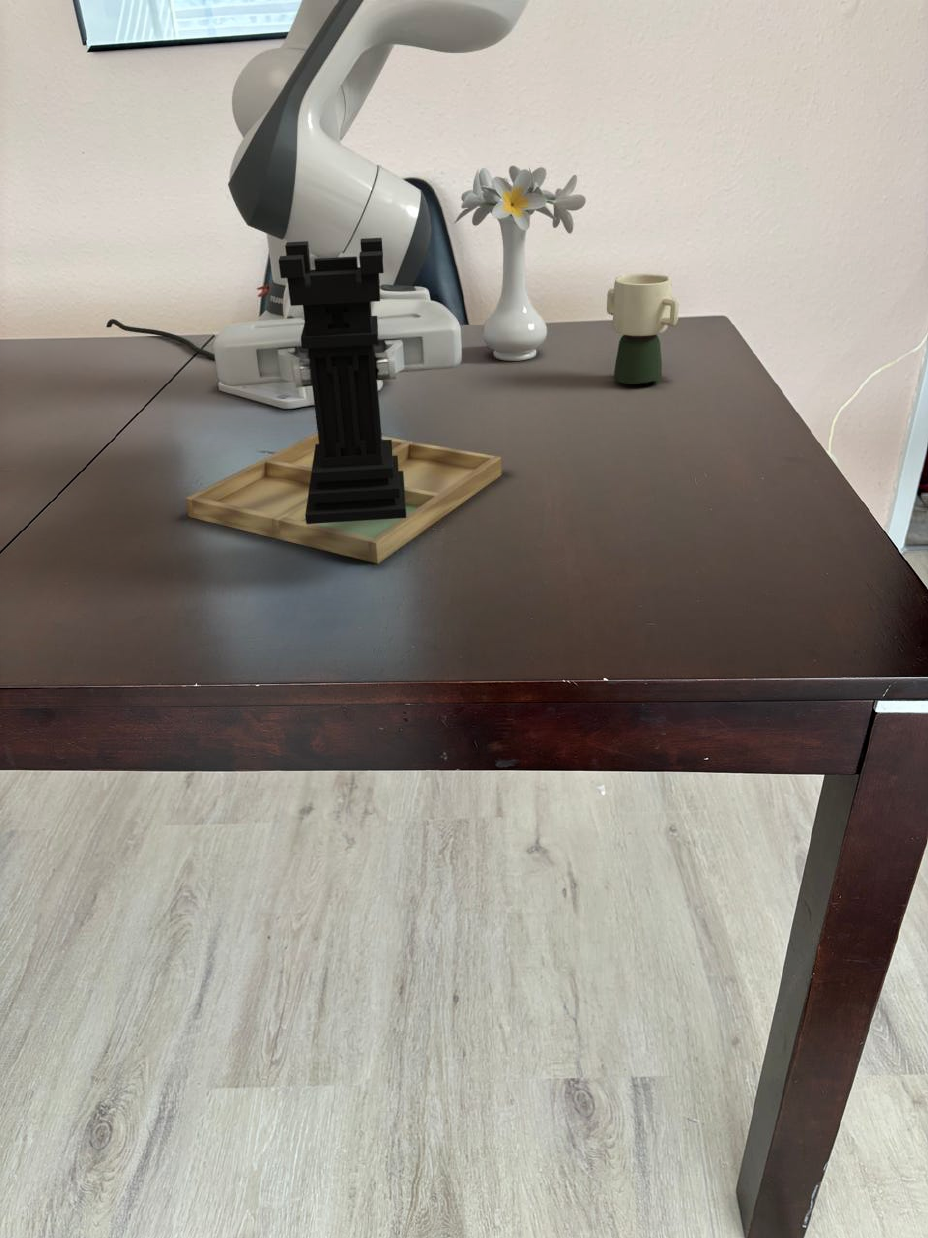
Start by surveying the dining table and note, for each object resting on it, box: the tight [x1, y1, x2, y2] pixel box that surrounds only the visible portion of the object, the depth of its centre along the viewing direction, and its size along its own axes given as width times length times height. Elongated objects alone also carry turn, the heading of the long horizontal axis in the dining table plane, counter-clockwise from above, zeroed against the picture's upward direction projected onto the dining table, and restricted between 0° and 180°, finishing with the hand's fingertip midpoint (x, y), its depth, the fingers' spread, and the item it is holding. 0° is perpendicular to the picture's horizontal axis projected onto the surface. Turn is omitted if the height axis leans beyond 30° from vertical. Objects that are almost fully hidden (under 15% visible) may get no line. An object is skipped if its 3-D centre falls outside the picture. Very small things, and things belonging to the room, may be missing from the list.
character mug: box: [606, 273, 680, 386], centre depth 121 cm, size 11×7×13 cm, turn 43°
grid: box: [184, 431, 502, 564], centre depth 95 cm, size 22×22×2 cm
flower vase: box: [453, 165, 587, 362], centre depth 132 cm, size 13×18×25 cm
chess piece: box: [279, 238, 406, 524], centre depth 74 cm, size 8×8×20 cm
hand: (345, 373), depth 73 cm, fingers closed on chess piece, 5 cm apart
